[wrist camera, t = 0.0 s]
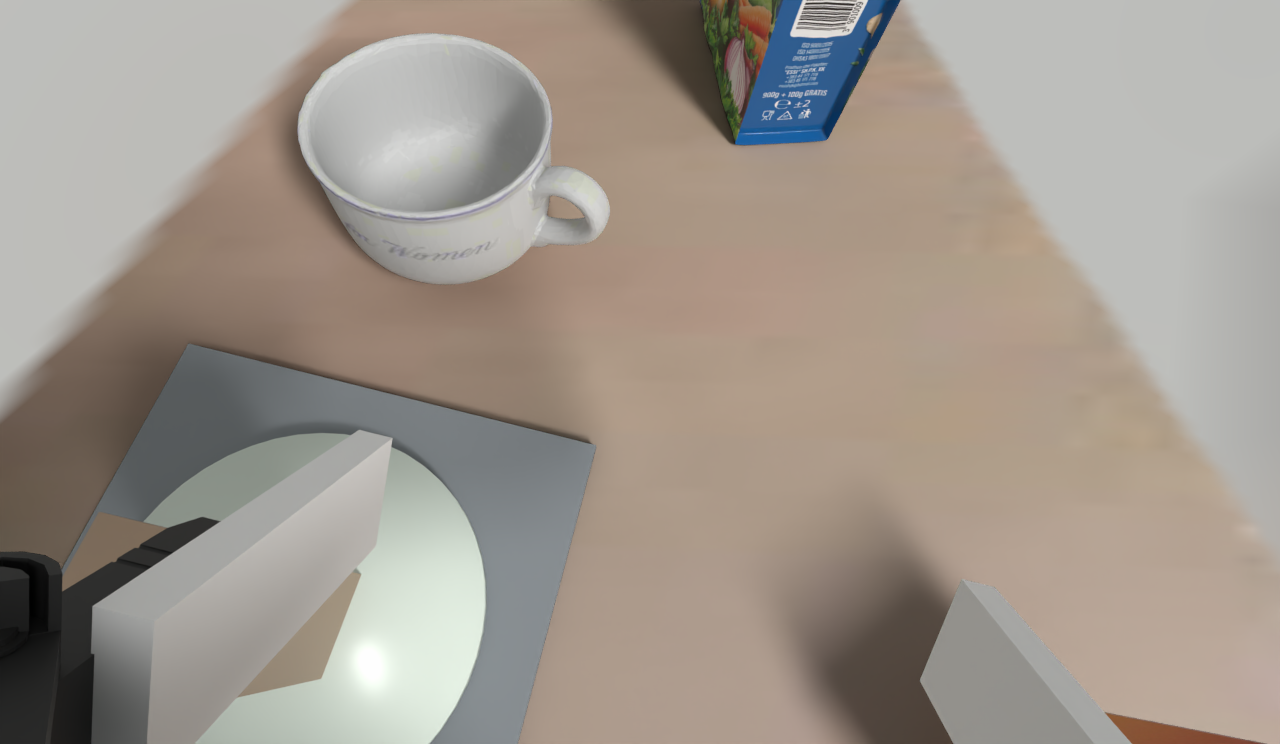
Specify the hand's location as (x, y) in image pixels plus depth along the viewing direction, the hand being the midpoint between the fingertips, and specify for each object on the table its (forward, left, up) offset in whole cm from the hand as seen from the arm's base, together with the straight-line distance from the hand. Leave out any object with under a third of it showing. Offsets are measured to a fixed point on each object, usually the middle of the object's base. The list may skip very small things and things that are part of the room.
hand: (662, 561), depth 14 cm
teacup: (+16, +12, -16) cm, 25 cm away
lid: (-4, +13, -15) cm, 20 cm away
